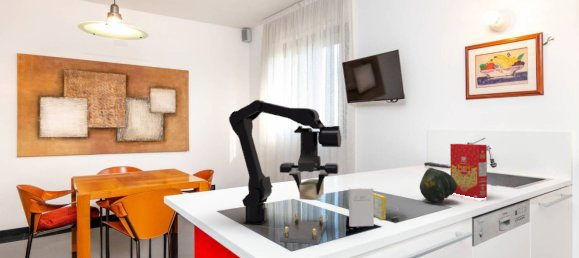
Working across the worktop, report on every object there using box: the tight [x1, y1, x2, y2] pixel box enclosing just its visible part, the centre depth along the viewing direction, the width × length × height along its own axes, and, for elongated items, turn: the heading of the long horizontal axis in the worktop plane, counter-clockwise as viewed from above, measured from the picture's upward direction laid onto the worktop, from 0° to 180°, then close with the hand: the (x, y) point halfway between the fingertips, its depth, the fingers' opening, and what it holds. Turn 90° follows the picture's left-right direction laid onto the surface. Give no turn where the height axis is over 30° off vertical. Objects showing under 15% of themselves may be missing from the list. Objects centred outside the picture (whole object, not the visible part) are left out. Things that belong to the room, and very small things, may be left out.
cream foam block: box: [299, 178, 325, 201], centre depth 110 cm, size 5×11×5 cm, turn 159°
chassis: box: [279, 213, 327, 245], centre depth 101 cm, size 11×18×4 cm, turn 167°
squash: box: [419, 167, 457, 203], centre depth 143 cm, size 14×15×15 cm
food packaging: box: [449, 143, 488, 198], centre depth 153 cm, size 15×5×25 cm, turn 23°
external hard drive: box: [348, 187, 375, 228], centre depth 109 cm, size 2×8×12 cm, turn 96°
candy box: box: [373, 192, 387, 221], centre depth 124 cm, size 16×2×8 cm, turn 14°
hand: (309, 194), depth 107 cm, fingers closed on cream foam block, 5 cm apart
